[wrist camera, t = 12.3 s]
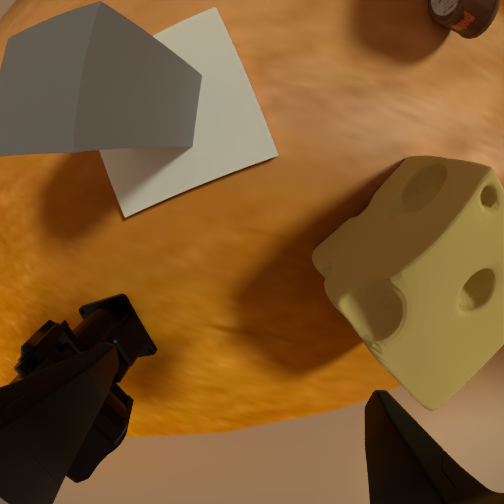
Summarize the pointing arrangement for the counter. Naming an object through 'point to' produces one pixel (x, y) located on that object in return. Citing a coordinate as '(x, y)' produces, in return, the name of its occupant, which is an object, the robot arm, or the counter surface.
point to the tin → (464, 15)
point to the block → (93, 87)
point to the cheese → (424, 274)
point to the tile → (197, 123)
